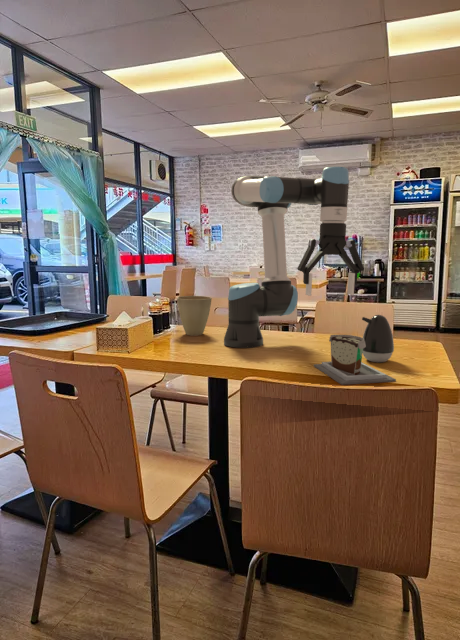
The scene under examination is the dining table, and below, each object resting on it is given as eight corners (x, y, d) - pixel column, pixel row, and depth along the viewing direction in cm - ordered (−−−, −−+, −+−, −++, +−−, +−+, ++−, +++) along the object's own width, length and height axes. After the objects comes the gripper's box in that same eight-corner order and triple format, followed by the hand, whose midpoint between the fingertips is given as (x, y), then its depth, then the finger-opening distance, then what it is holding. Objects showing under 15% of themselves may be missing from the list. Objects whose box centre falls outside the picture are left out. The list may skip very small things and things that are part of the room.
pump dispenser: (357, 356, 152) (359, 312, 150) (388, 357, 151) (391, 312, 149) (363, 364, 142) (365, 316, 140) (396, 364, 141) (399, 317, 138)
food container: (373, 373, 128) (375, 339, 127) (358, 376, 125) (359, 341, 124) (343, 364, 139) (344, 332, 137) (328, 367, 136) (329, 334, 134)
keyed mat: (313, 366, 139) (313, 361, 139) (360, 363, 142) (361, 358, 142) (341, 384, 120) (341, 378, 119) (395, 381, 123) (396, 375, 122)
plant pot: (179, 338, 185) (179, 299, 182) (175, 331, 199) (175, 296, 196) (215, 336, 188) (214, 298, 186) (208, 330, 202) (208, 295, 200)
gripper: (297, 221, 124) (294, 297, 128) (378, 222, 129) (373, 295, 133) (288, 222, 131) (286, 293, 135) (365, 223, 136) (361, 292, 140)
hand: (329, 294), depth 134 cm, fingers open, 13 cm apart
